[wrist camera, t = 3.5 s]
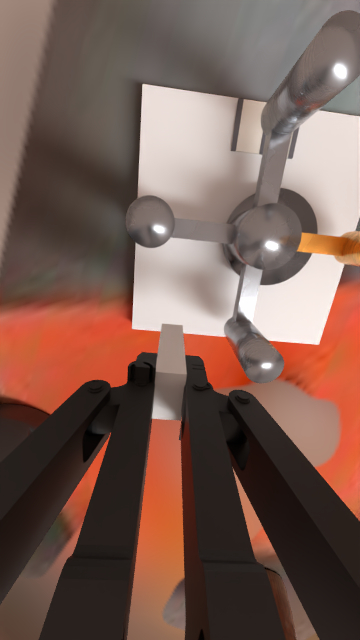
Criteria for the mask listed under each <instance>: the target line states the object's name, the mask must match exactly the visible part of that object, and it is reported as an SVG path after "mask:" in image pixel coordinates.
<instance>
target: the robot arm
mask: <svg viewBox="0 0 360 640" xmlns="http://www.w3.org/2000/svg"><path fill="white" fill-rule="evenodd" d="M181 415H182V421H181V428H180V436H179V440H181V461H182V462H181V463H182V498H183V535H184V571H185V607H186V626H185V640H286V638H285V635H284V631H283V627H282V624H281V620H280V616H279V613H278V609H277V605H276V602H275V598H274V594H273V591H272V587H271V584H270V581H269V578H268V575H267V572H266V570H265V568H264V567H263V565H262V564H260V563H258V562H257V561H256V559H255V557H254V553H253V550H252V546H251V542H250V537H249V534H248V529H247V525H246V521H245V517H244V513H243V509H242V505H241V501H240V497H239V493H238V489H237V485H236V481H235V476H234V472H233V469H234V471H235V472H236V475H237V477H238V479H239V481H240V483H241V485H242V487H243V489H244V491H245V493H246V495H247V497H248V498H249V501H250V502H251V504H252V506H253V508H254V510H255V512H256V514H257V516H258V518H259V520H260V522H261V524H262V526H263V528H264V530H265V532H266V534H267V536H268V538H269V540H270V542H271V544H272V546H273V548H274V550H275V552H276V554H277V556H278V558H279V560H280V562H281V564H282V566H283V568H284V570H285V572H286V574H287V576H288V578H289V580H290V582H291V584H292V586H293V588H294V590H295V592H296V594H297V596H298V598H299V600H300V602H301V604H302V606H303V608H304V610H305V612H306V613H307V615H308V617H309V619H310V621H311V623H312V625H313V627H314V629H315V631H316V633H317V635H318V637H319V639H320V640H360V521H359V520H358V519H357V518H356V516H355V515H354V514H353V513H352V512H351V511H350V509H349V508H348V507H347V506H346V505H345V503H344V502H343V501H342V500H341V499H340V497H339V496H338V495H337V494H336V493H335V492H334V490H333V489H332V488H331V487H330V486H329V484H328V483H327V482H326V481H325V480H324V478H323V477H322V476H321V475H320V474H319V473H318V471H317V470H316V469H315V468H314V467H313V465H312V464H311V463H310V462H309V461H308V460H307V458H306V457H305V456H304V455H303V454H302V452H301V451H300V450H299V449H298V448H297V446H296V445H295V444H294V443H293V442H292V440H291V439H290V438H289V437H288V436H287V435H286V433H285V432H284V431H283V430H282V429H281V427H280V426H279V425H278V424H277V423H276V421H275V420H274V419H273V418H272V417H271V416H270V414H269V413H268V412H267V411H266V410H265V408H264V407H263V406H262V405H261V404H260V403H259V401H258V400H257V399H256V398H255V397H254V396H253V395H252V394H250V393H248V392H246V391H243V390H233V391H231V392H230V393H229V396H226V395H223V394H220V393H217V392H215V391H214V390H213V387H212V385H211V384H210V383H209V382H208V380H207V376H206V371H205V367H204V362H203V360H202V359H201V358H200V357H199V356H188V355H185V348H184V337H183V325H174V324H163V323H162V326H161V334H160V341H159V348H158V354H157V353H145V352H142V353H141V354H139V355H138V356H137V360H136V361H134V362H132V363H130V364H129V366H128V381H127V384H125V385H122V386H119V387H112V388H111V387H110V384H109V383H108V382H106V381H103V380H92V381H89V382H86V383H85V384H83V385H82V386H81V387H80V388H79V389H78V390H77V391H76V392H74V393H73V394H72V395H71V396H70V397H69V398H68V399H67V400H66V401H65V402H64V403H63V404H62V405H61V406H60V407H59V408H58V409H56V410H55V411H54V412H53V413H52V414H51V415H50V416H49V415H48V414H46V413H44V412H42V411H39V410H37V409H34V408H31V407H27V406H23V405H16V404H0V604H1V603H2V601H3V600H4V598H5V597H6V595H7V594H8V592H9V590H10V589H11V587H12V586H13V584H14V583H15V581H16V580H17V578H18V577H19V575H20V573H21V572H22V570H23V569H24V567H25V566H26V564H27V563H28V561H29V560H30V558H31V556H32V555H33V553H34V552H35V550H36V549H37V547H38V546H39V544H40V542H41V541H42V539H43V538H44V536H45V535H46V533H47V532H48V530H49V529H50V527H51V525H52V524H53V522H54V521H55V519H56V518H57V516H58V515H59V513H60V512H61V510H62V508H63V507H64V505H65V504H66V502H67V501H68V499H69V498H70V496H71V495H72V493H73V491H74V490H75V488H76V487H77V485H78V484H79V482H80V481H81V479H82V477H83V476H84V474H85V473H86V471H87V470H88V468H89V467H90V465H91V464H92V462H93V460H94V459H95V457H96V456H97V454H98V453H99V451H100V450H101V448H102V447H103V445H104V443H105V442H106V440H107V439H108V437H109V435H110V433H111V436H110V439H109V442H108V445H107V448H106V451H105V455H104V458H103V461H102V465H101V467H100V471H99V474H98V477H97V480H96V484H95V487H94V490H93V493H92V496H91V500H90V503H89V506H88V509H87V512H86V516H85V519H84V522H83V525H82V528H81V532H80V535H79V538H78V541H77V544H76V547H75V550H74V552H73V554H72V556H70V557H69V558H68V559H67V561H66V563H65V565H64V567H63V569H62V572H61V575H60V577H59V580H58V583H57V586H56V590H55V592H54V595H53V598H52V601H51V604H50V607H49V610H48V613H47V617H46V619H45V622H44V626H43V628H42V632H41V635H40V638H39V640H127V633H128V623H129V613H130V605H131V596H132V588H133V578H134V571H135V562H136V553H137V545H138V536H139V528H140V519H141V510H142V501H143V492H144V484H145V476H146V467H147V459H148V450H149V441H150V433H151V423H152V419H166V420H181ZM232 467H233V468H232Z"/></svg>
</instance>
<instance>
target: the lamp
mask: <svg viewBox="0 0 360 640" xmlns="http://www.w3.org/2000/svg"><path fill="white" fill-rule="evenodd" d="M265 570H266V572H267V575H268V578H269V581H270V584H271V587H272V591H273V594H274V598H275V602H276V605H277V609H278V613H279V616H280V620H281V624H282V627H283V631H284V635H285V638H286V640H297V637H296V630H295V626H294V622H293V616H292V611H291V608H290V604H289V601H288V596H287V591H286V587H285V585H284V582H283V580H282V578H281V577H280V576H279V575H278V574H277V573H275V572H273V571H271V570H267V569H265Z"/></svg>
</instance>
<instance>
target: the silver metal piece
mask: <svg viewBox="0 0 360 640" xmlns="http://www.w3.org/2000/svg"><path fill="white" fill-rule="evenodd" d="M359 75H360V14H359V13H357V12H355V11H350V10H347V11H342V12H339V13H337V14H335V15H333V16H332V17H331V18H330V19H328V21H327V22H326V23H325V24H324V25H323V27H322V28H321V29H320V31H319V32H318V33H317V35H316V36H315V38H314V39H313V40H312V42H311V43H310V44H309V46H308V47H307V49H306V50H305V51H304V53H303V54H302V55H301V57H300V58H299V60H298V61H297V62H296V64H295V65H294V66H293V68H292V69H291V71H290V72H289V73H288V75H287V76H286V77H285V79H284V80H283V82H282V83H281V84H280V86H279V87H278V88H277V90H276V91H275V93H274V94H273V95H272V97H271V98H270V99H269V101H268V102H267V104H266V105H265V107H264V108H263V111H262V114H261V128H262V130H263V132H264V134H265V135H266V138H265V143H264V148H263V154H262V159H261V165H260V170H259V176H258V181H257V186H256V192H255V194H253V195H251V196H249V197H247V198H246V199H244V200H243V201H242V202H241V203H240V204H239V205H238V206H237V207H236V208H235V209H234V210H233V212H232V213H231V215H230V216H229V218H228V220H227V223H226V224H224V223H215V222H207V221H198V220H189V219H181V218H174V214H173V212H172V209H171V208H170V206H169V205H168V204H167V203H166V202H165V201H164V200H163V199H161V198H159V197H157V196H152V195H146V196H142V197H139V198H138V199H136V200H135V201H133V203H132V204H131V205H130V206H129V208H128V210H127V213H126V228H127V231H128V233H129V235H130V237H131V238H132V239H133V240H134V241H135V242H136V243H137V244H139V245H141V246H143V247H146V248H156V247H159V246H162V245H163V244H165V243H166V242H167V241H168V240H169V239H170V237H171V238H180V239H190V240H199V241H208V242H217V243H223V251H224V255H225V258H226V260H227V263H228V264H229V266H230V267H231V269H232V270H233V271H234V272H235V273H236V274H237V275H239V276H240V278H239V284H238V289H237V295H236V300H235V305H234V311H233V316H232V317H231V318H230V319H228V320H227V322H226V323H225V325H224V334H225V336H226V338H227V340H228V342H229V343H230V345H231V347H232V349H233V351H234V353H235V355H236V357H237V358H238V360H239V362H240V364H241V366H242V368H243V370H244V372H245V374H246V375H247V377H248V378H249V379H250V380H251V381H253V382H256V383H267V382H271V381H273V380H274V379H276V378H277V377H278V376H279V375H280V374H281V372H282V370H283V367H284V360H283V357H282V356H281V354H280V353H279V352H278V351H277V350H276V349H275V348H274V347H273V345H272V344H271V343H270V342H269V341H268V340H267V339H266V338H265V337H264V336H263V334H262V333H261V332H260V331H259V330H258V329H257V328H256V327H255V326H254V325H253V323H252V319H253V314H254V309H255V304H256V300H257V295H258V290H259V286H260V285H274V284H278V283H281V282H284V281H286V280H288V279H290V278H291V277H293V276H294V275H296V274H297V273H298V272H299V271H300V270H301V269H302V268H303V267H304V266H305V265H306V263H307V262H308V260H309V259H310V257H311V255H312V253H317V254H326V255H334V257H335V259H336V260H337V261H338V262H340V263H343V264H348V265H354V266H360V231H351V232H347V233H345V234H343V235H342V236H340V237H337V236H328V235H319V234H317V233H318V229H317V220H316V216H315V213H314V211H313V209H312V207H311V206H310V204H309V203H308V202H307V200H306V199H305V198H304V197H302V196H301V195H300V194H298V193H296V192H295V191H292V190H289V189H285V188H280V187H281V183H282V178H283V173H284V169H285V164H286V159H287V155H288V150H289V145H290V141H291V136H292V132H293V131H294V130H296V129H297V128H298V127H299V126H300V125H302V124H303V123H304V122H305V121H306V120H308V119H309V118H310V117H311V116H312V115H313V114H315V113H316V112H317V111H318V110H319V109H321V108H322V107H323V106H324V105H325V104H327V103H328V102H329V101H330V100H331V99H332V98H334V97H335V96H336V95H337V94H338V93H340V92H341V91H342V90H343V89H344V88H346V87H347V86H348V85H349V84H350V83H351V82H353V81H354V80H355V79H356V78H357V77H358V76H359Z"/></svg>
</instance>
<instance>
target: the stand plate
mask: <svg viewBox="0 0 360 640" xmlns="http://www.w3.org/2000/svg"><path fill="white" fill-rule="evenodd" d="M266 104H267V103H266V102H260V101H253V100H246V99H241V98H233V97H226V96H220V95H213V94H206V93H200V92H193V91H187V90H180V89H173V88H167V87H160V86H153V85H147V84H143V86H142V109H141V132H140V155H139V179H138V198H139V197H142V196H146V195H152V196H157V197H159V198H161V199H163V200H164V201H165V202H166V203H167V204H168V205H169V206H170V208H171V209H172V212H173V214H174V218H181V219H189V220H198V221H207V222H215V223H224V224H226V223H227V220H228V218H229V216H230V215H231V213H232V212H233V210H234V209H235V208H236V207H237V206H238V205H239V204H240V203H241V202H242V201H243V200H244V199H246V198H247V197H249V196H251V195H253V194H255V192H256V186H257V181H258V176H259V170H260V165H261V159H262V154H263V148H264V143H265V138H266V135H265V134H264V132H263V130H262V128H261V114H262V111H263V108H264V107H265V105H266ZM280 188H285V189H289V190H292V191H295V192H296V193H298V194H300V195H301V196H302V197H304V198H305V199H306V200H307V202H308V203H309V204H310V206H311V207H312V209H313V211H314V213H315V216H316V220H317V229H318V233H317V234H319V235H328V236H337V237H340V236H342V235H343V234H345V233H347V232H351V231H355V230H356V227H357V223H358V220H359V217H360V116H353V115H346V114H340V113H333V112H326V111H320V110H318V111H317V112H316V113H315V114H313V115H312V116H311V117H310V118H309V119H308V120H306V121H305V122H304V123H303V124H302V125H300V126H299V127H298V128H297V129H296V130H294V131H293V132H292V136H291V141H290V145H289V150H288V155H287V159H286V164H285V169H284V173H283V178H282V183H281V187H280ZM343 267H344V264H343V263H340V262H338V261H337V260H336V259H335V257H334V255H326V254H317V253H312V255H311V257H310V259H309V260H308V262H307V263H306V265H305V266H304V267H303V268H302V269H301V270H300V271H299V272H298V273H297V274H296V275H294V276H293V277H291V278H290V279H288V280H286V281H284V282H281V283H278V284H274V285H260V286H259V290H258V295H257V300H256V304H255V309H254V314H253V319H252V323H253V325H254V326H255V327H256V328H257V329H258V330H259V331H260V332H261V333H262V334H263V336H264V337H265V338H266V339H267V340H270V341H282V342H294V343H305V344H317V345H319V342H320V339H321V336H322V333H323V330H324V327H325V324H326V320H327V317H328V314H329V311H330V308H331V305H332V302H333V299H334V295H335V292H336V289H337V286H338V283H339V280H340V277H341V273H342V270H343ZM239 278H240V276H239V275H237V274H236V273H235V272H234V271H233V270H232V269H231V267H230V266H229V264H228V263H227V260H226V258H225V255H224V251H223V243H217V242H208V241H199V240H190V239H180V238H171V237H170V239H169V240H168V241H167V242H166V243H165V244H163V245H162V246H159V247H156V248H146V247H143V246H141V245H139V244H137V243H136V248H135V271H134V295H133V318H132V329H140V330H151V331H161V326H162V323H163V324H174V325H183V333H187V334H199V335H211V336H222V337H226V336H225V334H224V325H225V323H226V322H227V320H228V319H230V318H231V317H232V316H233V311H234V305H235V300H236V295H237V289H238V284H239Z"/></svg>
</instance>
